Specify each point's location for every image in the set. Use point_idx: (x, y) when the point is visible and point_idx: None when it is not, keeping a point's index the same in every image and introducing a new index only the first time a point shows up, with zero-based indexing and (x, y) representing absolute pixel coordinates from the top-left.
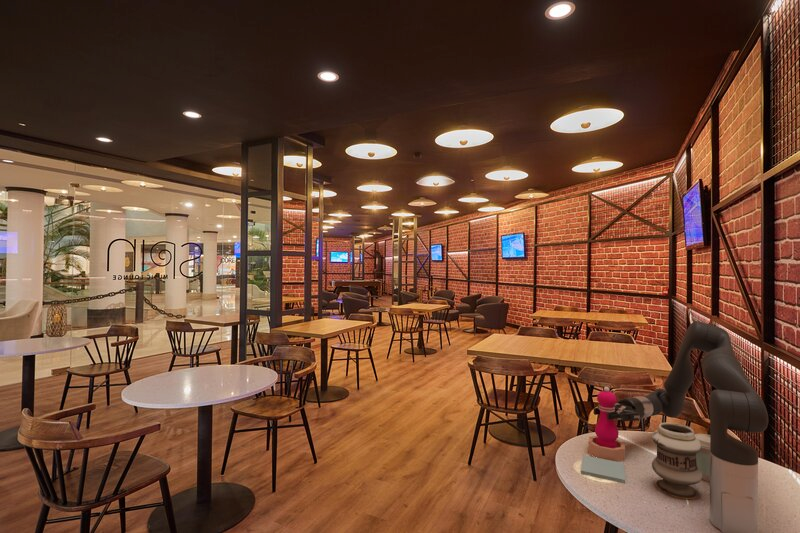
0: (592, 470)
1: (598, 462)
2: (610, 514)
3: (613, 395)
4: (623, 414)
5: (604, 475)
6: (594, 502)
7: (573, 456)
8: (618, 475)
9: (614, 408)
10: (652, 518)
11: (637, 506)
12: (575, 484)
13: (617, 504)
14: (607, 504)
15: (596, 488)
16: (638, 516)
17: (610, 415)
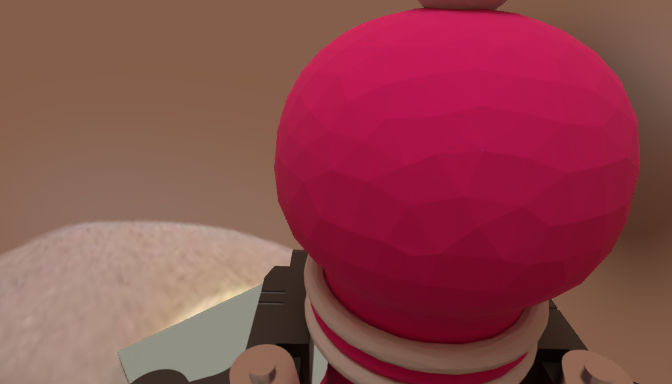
0: (250, 305)
1: None
2: (115, 225)
3: (312, 61)
4: (161, 376)
5: (199, 313)
6: (164, 229)
7: None
8: (154, 358)
9: (308, 297)
10: (3, 275)
11: (52, 286)
12: (244, 243)
13: (110, 257)
14: (134, 242)
15: (191, 267)
16: (45, 258)
17: (284, 272)
